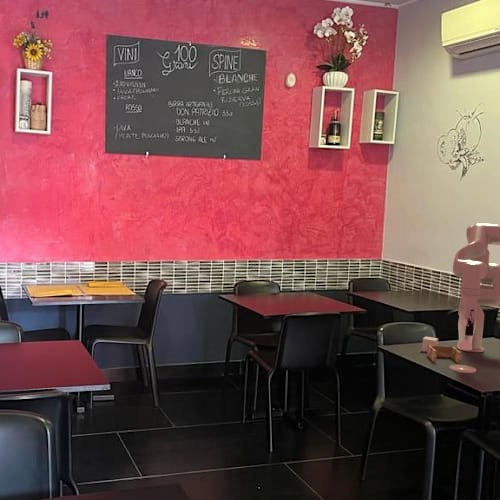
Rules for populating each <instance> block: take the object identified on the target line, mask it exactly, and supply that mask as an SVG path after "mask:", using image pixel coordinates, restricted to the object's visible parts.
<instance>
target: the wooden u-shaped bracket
mask: <svg viewBox="0 0 500 500" xmlns="http://www.w3.org/2000/svg"><path fill="white" fill-rule="evenodd" d="M426 353H427V354H426V356H427V357H428V358H429V359H430V360H431V361H432V362H433V363H435V362H436V363H437V358H449V357H451V358H450V359H452V360H453V361H455V362H456V363H457V365H461V361H462V352H461V351H460V350H458V348H456V347H455V346H450V345H438V346H436V345H428V352H426Z"/></svg>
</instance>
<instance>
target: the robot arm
mask: <svg viewBox="0 0 500 500" xmlns="http://www.w3.org/2000/svg"><path fill="white" fill-rule="evenodd" d="M466 239H467V244H466V245H465V246H463V247H461V248H460V249H459V250H457V252H456V254H455V255H454V259H453V265H452V272H453V275H454V276H455V277H458V278H461V287H460V298H459V299H460V300H459V304H458V305H459V306H458V313H457V315H458V316H460V313H461V314H463V319H466V318H467V326H466V330H465V335H466V336H473V338H472V350H469V351H468V350H463V351H464V352H470V353H483V352H485V348H484V347H483V346H482V343H483V333H484V323H485V312H484V311H483V309H482V307H481V306H487V307H496V308H497V307H499V306H500V264H499V263H494V262H490V260H489V259H490V250H489V249H488V248H489V245H493V246H500V224H497V223H494V224H493V223H484V222H483V223H475V224H474V225H470V226H467V228H466ZM481 283H485V284H491V285H492V286H491V285H484V284H481ZM470 316H471V319H468V317H470ZM475 319H476V326H475V331H474V322H475ZM469 320H470V322H469ZM473 331H474V334H473ZM457 346H458V344H456V347H457ZM460 350H461V349H459V351H460ZM461 351H462V350H461Z"/></svg>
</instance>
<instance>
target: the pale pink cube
mask: <svg viewBox="0 0 500 500" xmlns="http://www.w3.org/2000/svg"><path fill="white" fill-rule="evenodd" d="M438 343H439V337H438V338H437V337H432V336H424V337H423V338H422V343H421V344H422V347H421V351H422V352H425V351H426V352H425V353H427V352H428V345H436V346H439V344H438Z"/></svg>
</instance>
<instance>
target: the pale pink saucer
mask: <svg viewBox="0 0 500 500" xmlns="http://www.w3.org/2000/svg"><path fill="white" fill-rule="evenodd" d="M448 368H449V370H451V371H453V372H458V373H463V374H474V373H476V372H477V369H476V368H475V367H474V366H470V365H465V364H451V365H449V366H448Z"/></svg>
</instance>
